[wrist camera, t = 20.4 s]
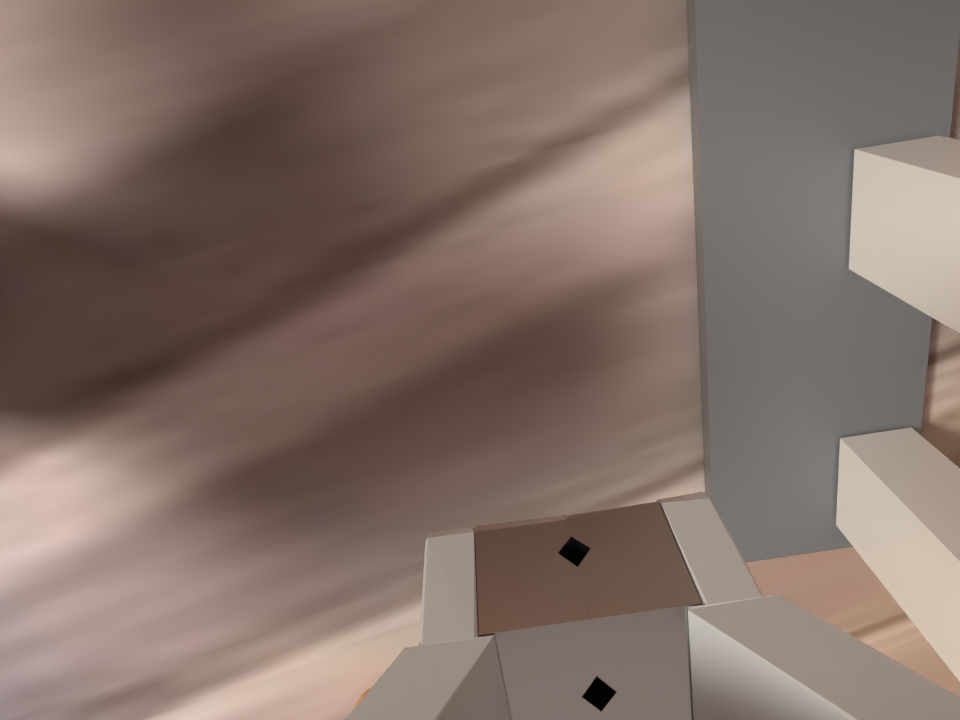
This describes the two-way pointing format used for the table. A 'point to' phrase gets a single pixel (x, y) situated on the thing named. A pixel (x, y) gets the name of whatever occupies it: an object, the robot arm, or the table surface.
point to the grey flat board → (802, 246)
